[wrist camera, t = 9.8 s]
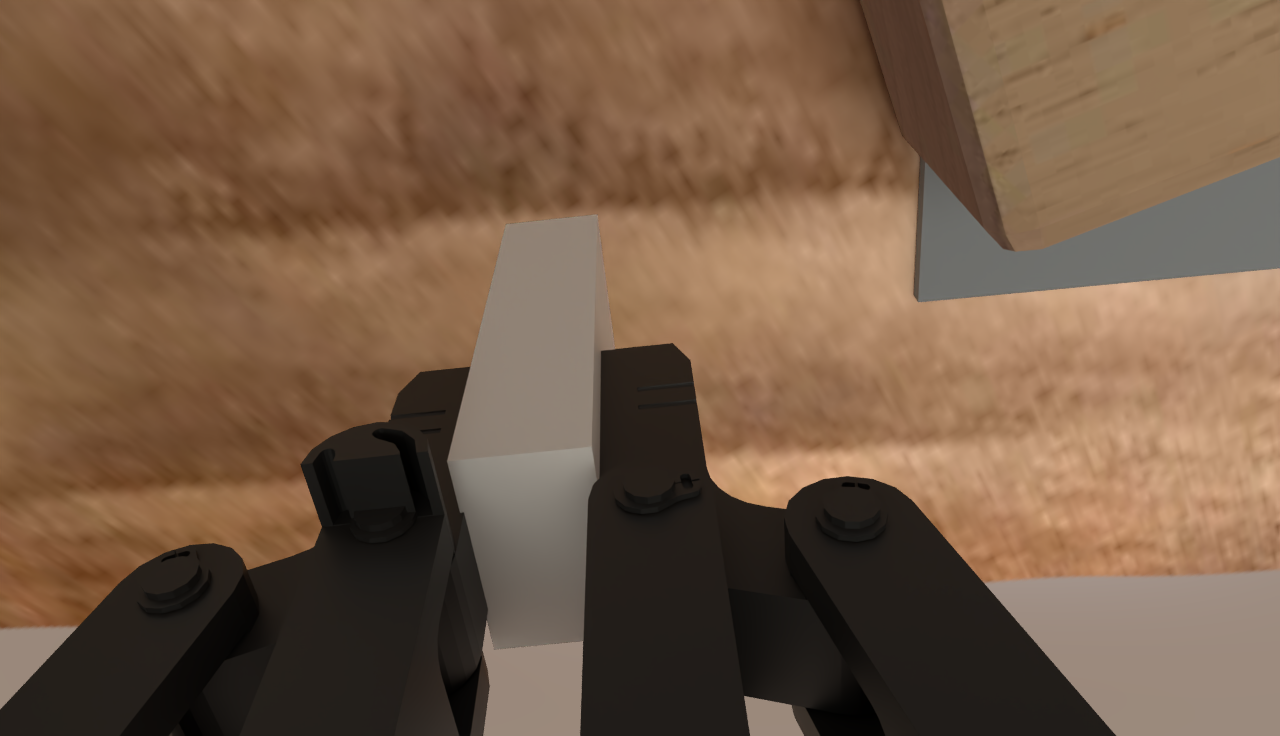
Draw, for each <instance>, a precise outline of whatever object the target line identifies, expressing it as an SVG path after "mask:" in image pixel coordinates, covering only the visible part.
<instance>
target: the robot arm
mask: <svg viewBox="0 0 1280 736" xmlns="http://www.w3.org/2000/svg"><path fill="white" fill-rule="evenodd" d="M300 465H301V468H302V470H303V473H304V476H305V479H306V482H307V485H308V488H309V491H310V494H311V496H312V499H313V502H314V505H315V508H316V511H317V514H318V517H319V520H320V522H321V525H322V529H321V531H320V534H319V536H318V539H317V541H316V544H315V546H314V547H313V548H311V549H309V550H307V551H304V552H301V553H299V554H296V555H294V556H291V557H288V558H285V559H282V560H279V561H275V562H272V563H269V564H266V565H263V566H259V567H256V568H253V569H250V570H247V569H246V566H245V564H244V562H243V559H242V558H241V557H240V556H239V555H238V554H237V553H236V552H235V551H234V550H233V549H232V548H230V547H226V546H222V545H218V544H214V543H212V544H198V545H189V546H186V547H182V548H178V549H176V550H172V551H169V552H166V553H164V554H162V555H160V556H158V557H156V558H154V559H152V560H150V561H148V562H147V563H145V564H143V565H141V566H139V567H138V568H137V569H136V570H135V571H133V572H132V573H131V574H130V575H129V576H127V577H126V578H125V579H124V580H122V581H121V582H120V583H119V584H118V585H117V586H116V587H115V588H114V589H113V591H112V592H111V593H110V594H109V595H108V596H107V597H106V598H105V599H104V600H103V601H102V602H101V603H100V604H99V605H98V606H97V608H96V609H95V610H94V611H93V612H92V613H91V614H90V615H89V616H88V617H87V618H86V619H85V620H84V621H83V622H82V623H81V624H80V626H79V627H78V628H77V629H76V630H75V631H74V632H73V633H72V634H71V635H70V636H69V637H68V638H67V639H66V640H65V641H64V643H63V644H62V645H61V646H60V647H59V648H58V649H57V650H56V651H55V652H54V653H53V654H52V655H51V656H50V657H49V659H47V661H46V662H45V663H44V664H43V665H42V666H41V667H40V668H39V669H38V670H37V671H36V672H35V673H34V674H33V675H32V676H31V678H30V679H29V680H28V681H27V682H26V683H25V684H24V685H23V686H22V687H21V688H20V689H19V690H18V692H16V693H15V695H14V696H13V697H12V698H11V699H10V700H9V701H8V702H7V703H6V704H5V705H4V706H3V707H2V708H1V709H0V736H483V732H484V724H485V717H486V710H487V702H488V694H489V687H490V686H489V678H488V670H487V666H486V662H485V659H484V655H483V651H482V647H483V640H484V634H485V627H486V621H487V622H488V626H489V630H490V634H491V638H492V642H493V646H494V649H506V648H515V647H525V646H537V645H547V644H556V643H557V644H558V643H568V642H579V641H583V670H582V701H581V730H580V736H750V733H749V727H748V720H747V713H746V706H745V700H744V696H748V697H753V698H759V699H764V700H770V701H774V702H780V703H785V704H790V705H792V708H793V713H794V716H795V719H796V721H797V723H798V724H799V726H800V728H801V730H802V732H803V734H804V736H1116V735H1115V734H1114V733H1113V732H1112V731H1111V729H1110V728H1109V727H1108V726H1107V725H1106V724H1105V722H1104V721H1103V720H1102V719H1101V718H1100V717H1099V715H1097V713H1096V712H1095V711H1094V710H1093V709H1092V707H1091V706H1090V705H1089V704H1088V703H1087V702H1086V700H1085V699H1084V698H1083V697H1082V696H1081V695H1080V694H1079V692H1078V691H1077V690H1076V689H1075V688H1074V687H1073V686H1072V684H1071V683H1070V682H1069V681H1068V680H1067V679H1066V677H1065V676H1064V675H1063V674H1062V673H1061V672H1060V670H1058V668H1057V667H1056V666H1055V665H1054V664H1053V662H1052V661H1051V660H1050V659H1049V658H1048V657H1047V656H1046V655H1045V653H1044V652H1043V651H1042V650H1041V649H1040V647H1039V646H1038V645H1037V644H1036V643H1035V642H1034V640H1033V639H1032V638H1031V637H1030V636H1029V635H1028V634H1027V632H1026V631H1025V630H1024V629H1023V628H1022V627H1021V626H1020V624H1019V623H1018V622H1017V621H1016V620H1015V619H1014V617H1013V616H1012V615H1011V614H1010V613H1009V612H1008V610H1006V608H1005V607H1004V606H1003V605H1002V604H1001V602H1000V601H999V600H998V599H997V598H996V597H995V595H994V594H993V593H992V592H991V591H990V590H989V589H988V588H987V586H986V585H985V584H984V583H983V582H982V580H981V579H980V578H979V577H978V576H977V575H976V574H975V572H974V571H973V570H972V569H971V568H970V567H969V565H968V564H967V563H966V562H965V561H964V560H963V559H962V557H961V556H960V555H959V554H958V553H957V552H956V550H955V549H954V548H953V547H952V546H951V545H950V544H949V542H948V541H947V540H946V539H945V538H944V537H943V535H942V534H941V533H940V532H939V531H938V530H937V528H936V527H935V526H934V525H933V524H932V523H931V522H930V520H929V519H928V518H927V517H926V516H925V515H924V513H923V512H922V511H921V510H920V509H919V508H918V507H917V505H916V504H915V503H914V502H913V501H912V500H911V499H910V498H908V497H907V496H906V495H904V494H903V493H902V492H901V491H899V490H898V489H897V488H895V487H893V486H890V485H887V484H885V483H882V482H879V481H877V480H874V479H867V478H858V477H849V476H846V477H838V478H830V479H823V480H820V481H818V482H816V483H813V484H811V485H808V486H806V487H804V488H802V489H801V490H800V491H799V492H798V493H797V494H796V495H795V496H794V497H792V498H791V499H790V500H789V502H788V505H787V508H786V509H781V508H773V507H765V506H760V505H755V504H751V503H746V502H744V501H741V500H739V499H736V498H734V497H731V496H730V495H728V494H727V493H725V492H724V491H723V490H721V489H720V488H718V486H717V485H716V484H715V483H714V482H713V481H712V479H711V478H710V475H709V473H708V470H707V467H706V460H705V454H704V447H703V441H702V434H701V427H700V421H699V414H698V408H697V402H696V394H695V388H694V381H693V375H692V368H691V361H690V360H689V359H688V358H687V357H686V356H685V355H684V354H683V353H682V352H681V351H680V350H679V349H678V348H677V347H676V346H675V345H674V344H673V343H671V344H661V345H651V346H642V347H632V348H622V349H615V344H614V336H613V329H612V321H611V313H610V306H609V298H608V291H607V283H606V276H605V268H604V260H603V253H602V245H601V238H600V230H599V222H598V215H597V214H596V215H586V216H577V217H568V218H558V219H549V220H540V221H530V222H521V223H512V224H506V226H505V230H504V234H503V238H502V242H501V246H500V250H499V254H498V258H497V262H496V266H495V270H494V274H493V278H492V282H491V286H490V290H489V294H488V298H487V302H486V306H485V310H484V314H483V318H482V322H481V326H480V331H479V335H478V339H477V343H476V347H475V351H474V355H473V359H472V363H471V367H465V368H455V369H445V370H436V371H426V372H420V373H419V374H418V375H417V376H416V377H415V378H414V379H413V380H412V381H411V382H410V383H409V384H408V385H407V386H406V387H405V388H404V389H402V390H401V391H400V392H399V394H398V396H397V399H396V402H395V405H394V408H393V410H392V413H391V420H389V421H388V422H377V423H372V424H367V425H362V426H357V427H353V428H350V429H348V430H346V431H343V432H341V433H338V434H336V435H334V436H331V437H329V438H328V439H327V440H325V441H324V442H322V443H321V444H319V445H318V446H317V447H315V448H314V449H312V450H311V452H310V453H309V454H308V455H307V457H306V458H305V459H304V461H303V462H302V463H301V464H300Z"/></svg>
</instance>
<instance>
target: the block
mask: <svg viewBox="0 0 1280 736" xmlns="http://www.w3.org/2000/svg"><path fill="white" fill-rule="evenodd" d="M860 3H861V6H862V9H863V12H864V15H865V18H866V22H867V25H868V28H869V31H870V34H871V37H872V41H873V44H874V47H875V50H876V53H877V57H878V60H879V63H880V66H881V69H882V72H883V76H884V79H885V82H886V85H887V88H888V92H889V95H890V98H891V101H892V104H893V107H894V111H895V114H896V117H897V120H898V123H899V127H900V130H901V133H902V136H903V137H904V138H905V139H906V140H907V142H908V143H909V144H910V145H911V146H912V147H913V148H914V150H915V151H916V152H917V153H918V154H919V155H920V156H921V157H922V159H923V160H924V161H925V162H926V163H927V164H928V165H929V167H930V168H931V169H932V170H933V171H934V172H935V173H936V175H937V176H938V177H939V178H940V179H941V180H942V181H943V183H944V184H945V185H946V186H947V187H948V188H949V189H950V191H951V192H952V193H953V194H954V195H955V196H956V197H957V199H958V200H959V201H960V202H961V203H962V204H963V205H964V206H965V208H966V209H967V210H968V211H969V212H970V213H971V214H972V216H973V217H974V218H975V219H976V220H977V221H978V222H979V224H980V225H981V226H982V227H983V228H984V229H985V230H986V231H987V232H988V234H989V235H990V236H991V237H992V238H993V239H994V240H995V241H996V242H997V243H998V244H999V245H1000V246H1001V247H1002V248H1003V249H1005V250H1010V251H1014V252H1017V251H1028V250H1038V249H1044V248H1046V247H1049V246H1052V245H1054V244H1057V243H1059V242H1062V241H1064V240H1067V239H1070V238H1072V237H1075V236H1077V235H1080V234H1083V233H1085V232H1088V231H1090V230H1093V229H1095V228H1098V227H1101V226H1103V225H1106V224H1108V223H1111V222H1114V221H1116V220H1119V219H1121V218H1124V217H1126V216H1129V215H1132V214H1134V213H1137V212H1139V211H1142V210H1145V209H1147V208H1150V207H1152V206H1155V205H1157V204H1160V203H1163V202H1165V201H1168V200H1170V199H1173V198H1175V197H1178V196H1181V195H1183V194H1186V193H1188V192H1191V191H1194V190H1196V189H1199V188H1201V187H1204V186H1206V185H1209V184H1212V183H1214V182H1217V181H1219V180H1222V179H1225V178H1227V177H1230V176H1232V175H1235V174H1237V173H1240V172H1243V171H1245V170H1248V169H1250V168H1253V167H1256V166H1258V165H1261V164H1263V163H1266V162H1268V161H1271V160H1274V159H1276V158H1279V157H1280V0H860Z"/></svg>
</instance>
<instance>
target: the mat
mask: <svg viewBox="0 0 1280 736" xmlns="http://www.w3.org/2000/svg"><path fill="white" fill-rule="evenodd" d="M1277 268H1280V157H1279V158H1276V159H1274V160H1271V161H1268V162H1266V163H1263V164H1261V165H1258V166H1256V167H1253V168H1250V169H1248V170H1245V171H1243V172H1240V173H1237V174H1235V175H1232V176H1230V177H1227V178H1225V179H1222V180H1219V181H1217V182H1214V183H1212V184H1209V185H1206V186H1204V187H1201V188H1199V189H1196V190H1194V191H1191V192H1188V193H1186V194H1183V195H1181V196H1178V197H1175V198H1173V199H1170V200H1168V201H1165V202H1163V203H1160V204H1157V205H1155V206H1152V207H1150V208H1147V209H1145V210H1142V211H1139V212H1137V213H1134V214H1132V215H1129V216H1126V217H1124V218H1121V219H1119V220H1116V221H1114V222H1111V223H1108V224H1106V225H1103V226H1101V227H1098V228H1095V229H1093V230H1090V231H1088V232H1085V233H1083V234H1080V235H1077V236H1075V237H1072V238H1070V239H1067V240H1064V241H1062V242H1059V243H1057V244H1054V245H1052V246H1049V247H1046V248H1044V249H1038V250H1028V251H1017V252H1014V251H1010V250H1005V249H1003V248H1002V247H1001V246H1000V245H999V244H998V243H997V242H996V241H995V240H994V239H993V238H992V237H991V236H990V235H989V234H988V232H987V231H986V230H985V229H984V228H983V227H982V226H981V225H980V224H979V222H978V221H977V220H976V219H975V218H974V217H973V216H972V214H971V213H970V212H969V211H968V210H967V209H966V208H965V206H964V205H963V204H962V203H961V202H960V201H959V200H958V199H957V197H956V196H955V195H954V194H953V193H952V192H951V191H950V189H949V188H948V187H947V186H946V185H945V184H944V183H943V181H942V180H941V179H940V178H939V177H938V176H937V175H936V173H935V172H934V171H933V170H932V169H931V168H930V167H929V165H928V164H927V163H926V162H925V161H924V160H923V159H922V157H921V156H920V177H919V198H918V219H917V240H916V261H915V282H914V296H915V298H916V299H917V301H918V302H926V301H937V300H948V299H958V298H969V297H980V296H990V295H1001V294H1011V293H1022V292H1033V291H1043V290H1054V289H1065V288H1075V287H1086V286H1096V285H1107V284H1118V283H1128V282H1139V281H1149V280H1160V279H1171V278H1181V277H1192V276H1203V275H1213V274H1224V273H1234V272H1245V271H1256V270H1266V269H1277Z"/></svg>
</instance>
